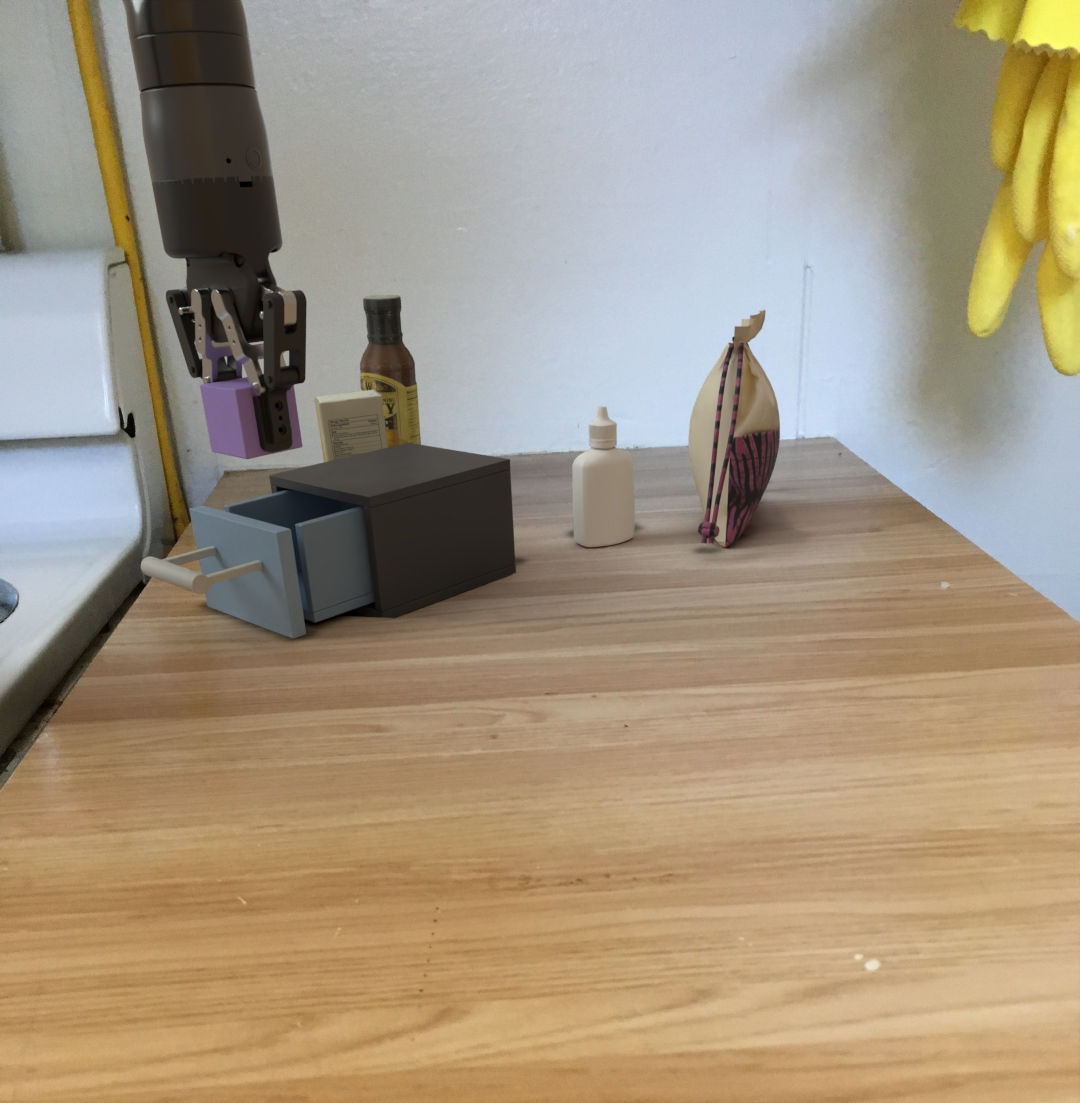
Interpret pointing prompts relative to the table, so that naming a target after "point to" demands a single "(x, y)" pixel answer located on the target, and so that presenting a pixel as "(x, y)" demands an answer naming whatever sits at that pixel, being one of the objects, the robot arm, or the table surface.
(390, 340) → the sauce bottle
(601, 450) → the eye dropper bottle
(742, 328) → the pouch
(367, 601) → the blue drawer
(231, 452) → the block
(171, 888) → the table surface
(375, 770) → the table surface
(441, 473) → the drawer cabinet
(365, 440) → the cosmetic box
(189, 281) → the robot arm
